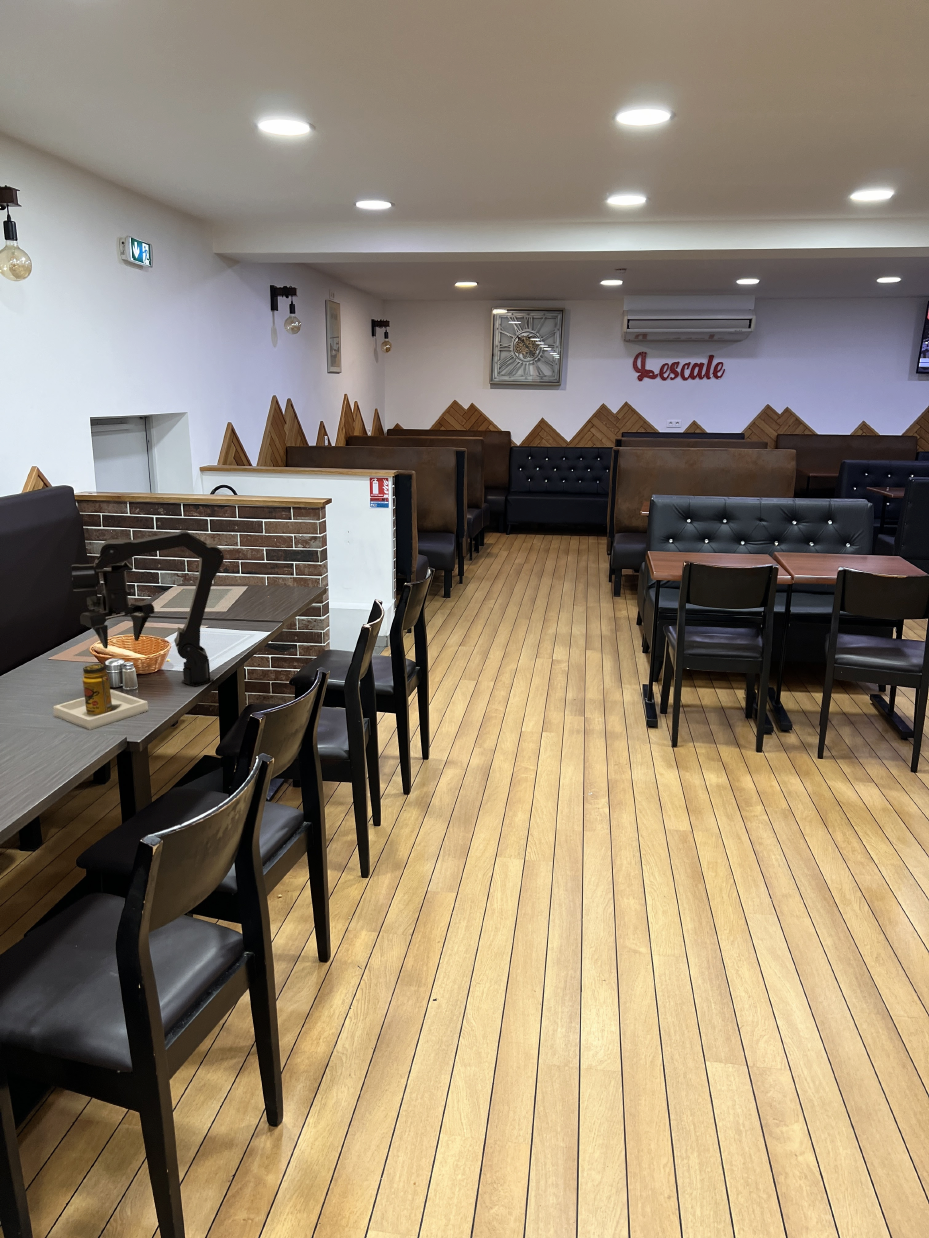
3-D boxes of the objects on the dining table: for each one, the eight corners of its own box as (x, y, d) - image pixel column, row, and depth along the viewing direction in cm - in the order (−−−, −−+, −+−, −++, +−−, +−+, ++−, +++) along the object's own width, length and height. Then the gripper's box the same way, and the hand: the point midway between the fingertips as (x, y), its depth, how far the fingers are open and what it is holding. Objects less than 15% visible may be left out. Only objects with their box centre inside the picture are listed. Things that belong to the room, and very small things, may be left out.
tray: (112, 698, 226) (111, 689, 226) (148, 710, 217) (147, 701, 216) (54, 715, 214) (53, 706, 213) (89, 729, 204) (88, 720, 204)
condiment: (79, 716, 211) (74, 670, 208) (94, 704, 220) (89, 660, 217) (109, 716, 211) (104, 670, 208) (122, 704, 220) (117, 660, 217)
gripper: (129, 578, 237) (134, 632, 241) (65, 590, 223) (72, 647, 227) (153, 583, 231) (158, 638, 235) (89, 595, 216) (95, 654, 220)
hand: (121, 644), depth 229 cm, fingers open, 9 cm apart
